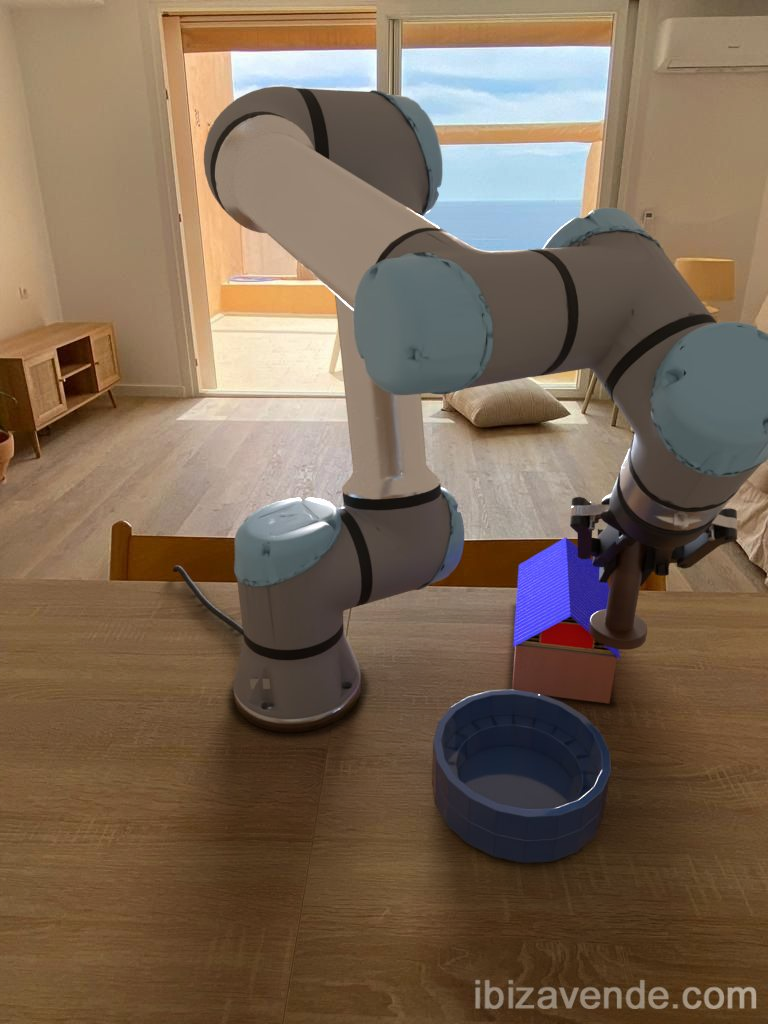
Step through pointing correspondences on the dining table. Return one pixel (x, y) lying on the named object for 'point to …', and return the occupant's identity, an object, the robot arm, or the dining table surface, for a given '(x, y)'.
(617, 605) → the muddler
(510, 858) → the bowl
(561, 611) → the house
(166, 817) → the dining table surface
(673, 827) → the dining table surface
